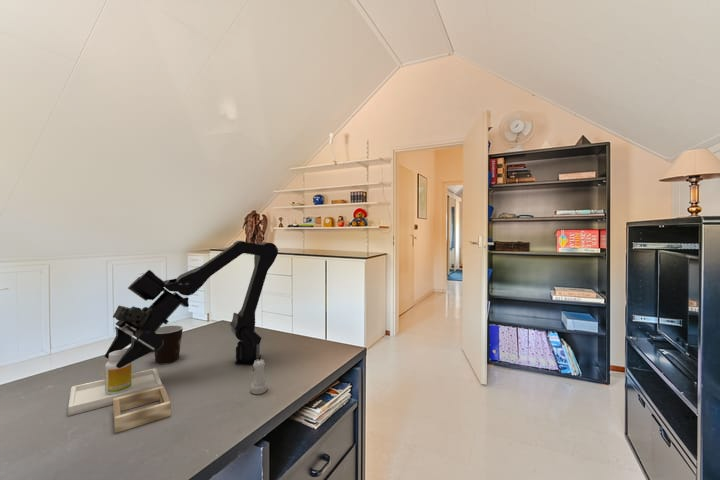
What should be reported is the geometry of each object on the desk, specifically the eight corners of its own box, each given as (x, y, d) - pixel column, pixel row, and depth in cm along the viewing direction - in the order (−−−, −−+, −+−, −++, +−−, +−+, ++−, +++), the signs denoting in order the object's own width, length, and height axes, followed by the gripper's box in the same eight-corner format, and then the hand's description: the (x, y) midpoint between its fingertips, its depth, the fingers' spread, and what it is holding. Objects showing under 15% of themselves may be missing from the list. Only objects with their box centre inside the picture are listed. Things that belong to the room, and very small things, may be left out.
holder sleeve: (163, 397, 79) (163, 385, 79) (170, 415, 72) (170, 402, 71) (113, 411, 73) (113, 398, 73) (114, 433, 65) (114, 418, 65)
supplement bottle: (136, 387, 82) (136, 350, 82) (112, 397, 77) (112, 357, 77) (123, 382, 85) (123, 347, 84) (100, 391, 80) (100, 354, 79)
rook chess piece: (270, 388, 85) (271, 359, 85) (260, 396, 81) (261, 365, 81) (257, 385, 87) (257, 356, 86) (246, 393, 82) (246, 363, 82)
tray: (155, 374, 91) (155, 368, 91) (161, 391, 82) (162, 384, 82) (71, 394, 80) (71, 386, 80) (68, 416, 71) (68, 407, 71)
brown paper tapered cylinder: (172, 365, 98) (172, 333, 97) (144, 365, 98) (145, 333, 97) (192, 351, 109) (193, 323, 109) (168, 350, 109) (168, 322, 109)
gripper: (124, 289, 89) (72, 337, 81) (150, 298, 78) (93, 356, 69) (155, 311, 96) (110, 358, 87) (183, 323, 84) (134, 378, 76)
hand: (111, 362), depth 80 cm, fingers open, 9 cm apart
